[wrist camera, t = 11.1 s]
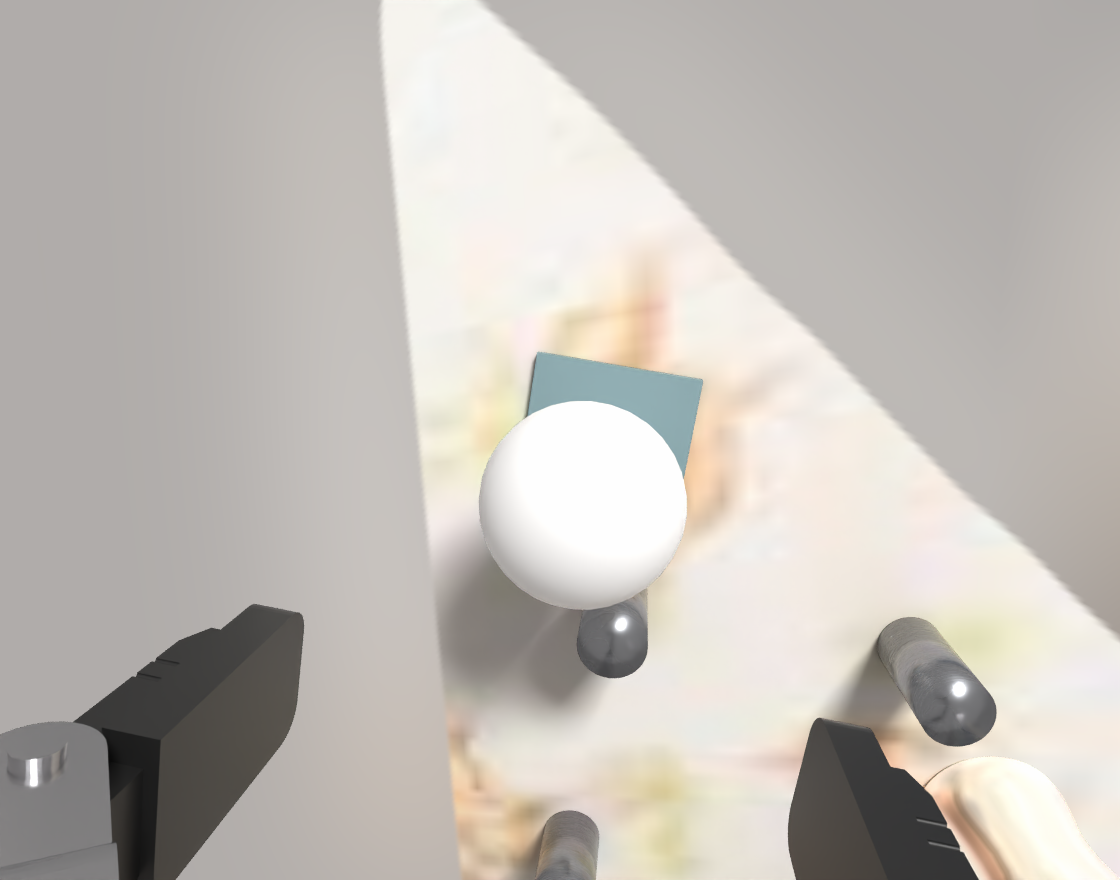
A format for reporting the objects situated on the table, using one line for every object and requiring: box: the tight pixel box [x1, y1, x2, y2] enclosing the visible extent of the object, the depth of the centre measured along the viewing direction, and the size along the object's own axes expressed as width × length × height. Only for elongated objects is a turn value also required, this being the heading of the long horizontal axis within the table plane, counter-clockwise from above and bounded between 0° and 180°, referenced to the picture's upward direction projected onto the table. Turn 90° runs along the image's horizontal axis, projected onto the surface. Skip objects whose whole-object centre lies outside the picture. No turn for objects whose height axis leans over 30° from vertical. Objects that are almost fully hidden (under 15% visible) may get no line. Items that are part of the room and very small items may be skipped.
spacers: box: [535, 588, 996, 880], centre depth 31 cm, size 14×14×5 cm
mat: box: [527, 352, 703, 479], centre depth 31 cm, size 6×6×1 cm
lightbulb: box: [479, 401, 687, 610], centre depth 25 cm, size 6×6×11 cm
